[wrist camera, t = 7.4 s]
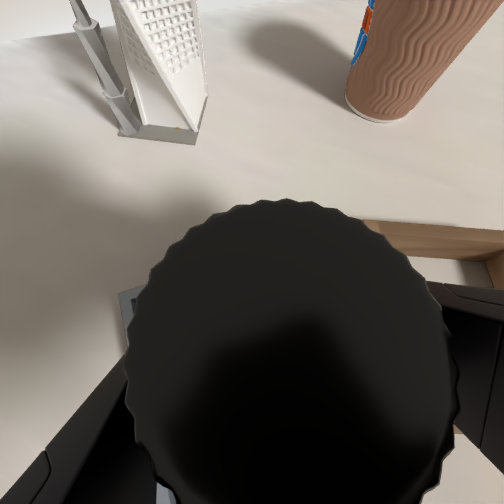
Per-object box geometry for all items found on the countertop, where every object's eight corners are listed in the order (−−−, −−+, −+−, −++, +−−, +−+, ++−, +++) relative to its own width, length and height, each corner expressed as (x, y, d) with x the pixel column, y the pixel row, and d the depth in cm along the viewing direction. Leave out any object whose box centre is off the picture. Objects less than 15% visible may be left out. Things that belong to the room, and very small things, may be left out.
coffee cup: (357, 61, 31) (424, -110, 20) (437, 100, 28) (564, -67, 17) (310, 102, 27) (362, -80, 16) (399, 151, 25) (529, -21, 14)
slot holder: (560, 429, 16) (630, 442, 13) (367, 419, 15) (396, 430, 12) (492, 251, 21) (532, 232, 18) (346, 239, 20) (363, 219, 17)
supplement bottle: (315, 308, 16) (475, 175, 5) (312, 440, 13) (675, 804, 2) (206, 294, 16) (132, 134, 5) (181, 422, 13) (-109, 680, 2)
